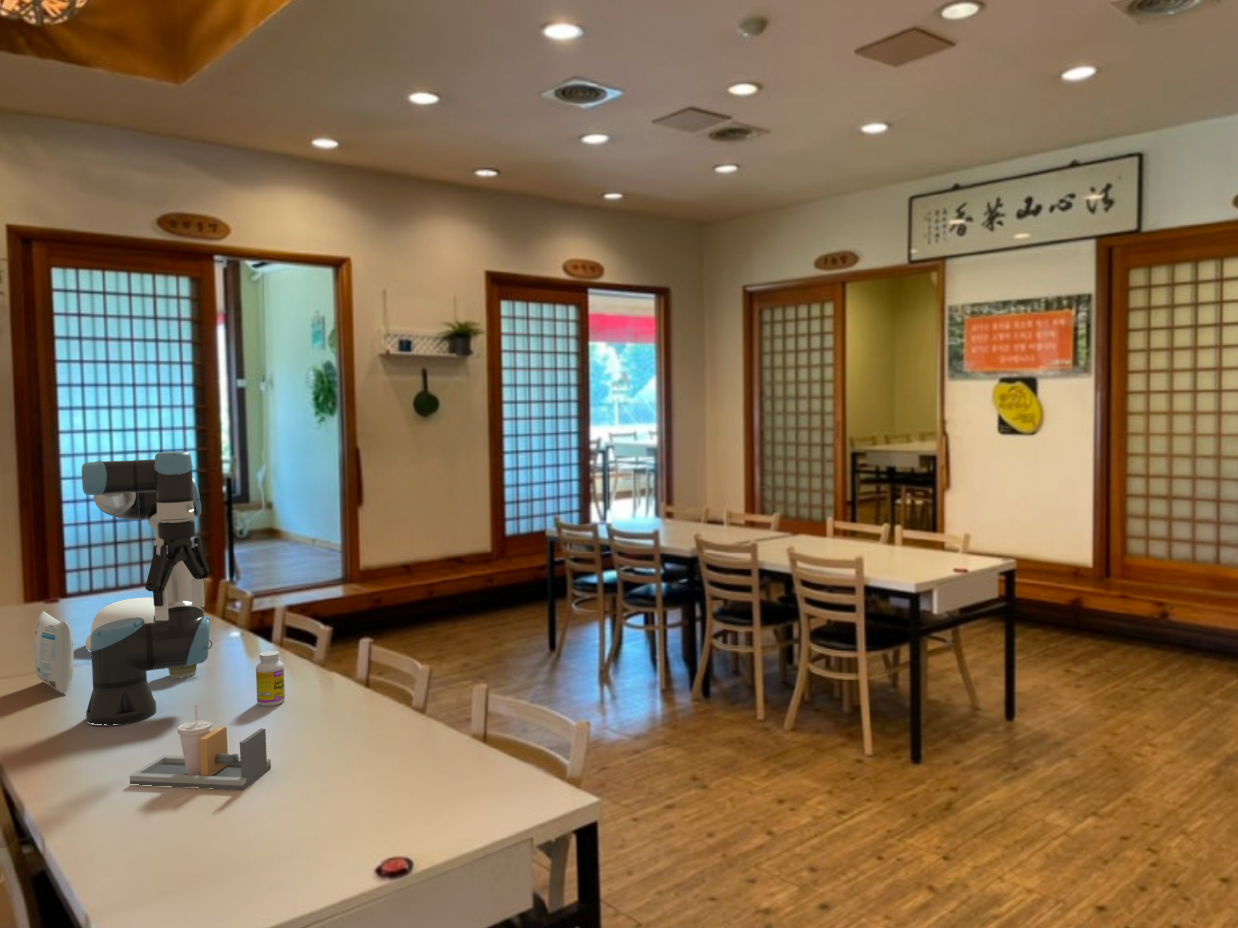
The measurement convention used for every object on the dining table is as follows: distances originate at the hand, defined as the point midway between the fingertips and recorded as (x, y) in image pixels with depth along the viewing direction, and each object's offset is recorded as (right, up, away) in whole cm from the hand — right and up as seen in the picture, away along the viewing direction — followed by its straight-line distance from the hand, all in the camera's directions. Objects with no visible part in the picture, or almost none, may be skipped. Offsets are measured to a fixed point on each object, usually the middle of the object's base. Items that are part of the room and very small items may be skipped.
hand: (180, 613), depth 209 cm
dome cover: (-56, -24, +90) cm, 109 cm away
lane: (+14, -30, -21) cm, 39 cm away
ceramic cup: (-23, -26, +52) cm, 63 cm away
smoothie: (+13, -29, -21) cm, 38 cm away
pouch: (-54, -27, +41) cm, 73 cm away
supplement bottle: (+11, -27, +26) cm, 39 cm away
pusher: (+19, -29, -22) cm, 41 cm away
